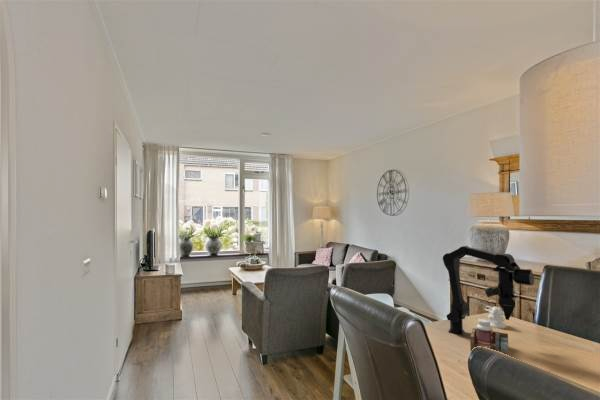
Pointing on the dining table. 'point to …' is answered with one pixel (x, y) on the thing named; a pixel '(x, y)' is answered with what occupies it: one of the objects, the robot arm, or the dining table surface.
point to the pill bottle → (484, 333)
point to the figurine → (496, 317)
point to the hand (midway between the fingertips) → (507, 316)
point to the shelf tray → (498, 341)
